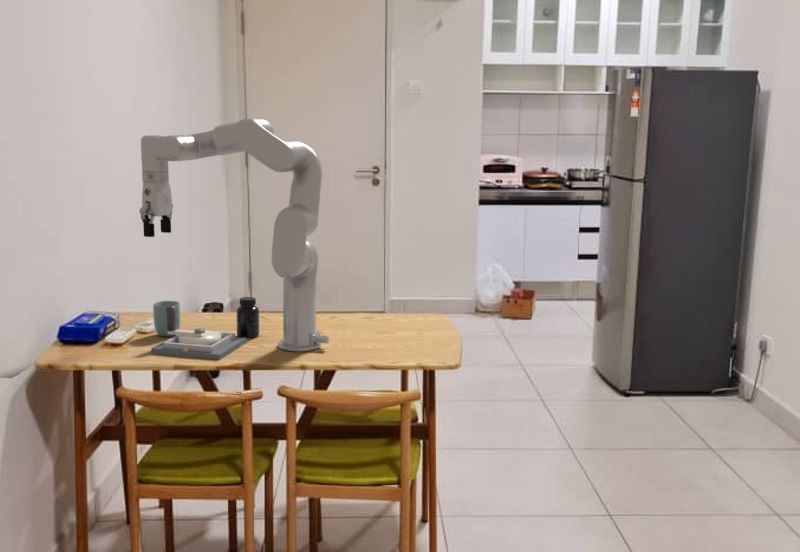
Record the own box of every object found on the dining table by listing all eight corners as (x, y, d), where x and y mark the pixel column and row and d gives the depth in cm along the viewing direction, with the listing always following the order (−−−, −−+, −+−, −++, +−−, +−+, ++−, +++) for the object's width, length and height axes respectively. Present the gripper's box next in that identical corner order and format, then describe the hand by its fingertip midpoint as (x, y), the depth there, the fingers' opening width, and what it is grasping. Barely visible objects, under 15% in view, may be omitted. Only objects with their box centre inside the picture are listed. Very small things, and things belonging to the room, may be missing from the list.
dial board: (246, 342, 234) (246, 333, 233) (219, 359, 217) (219, 349, 216) (182, 337, 238) (182, 327, 238) (151, 353, 221) (151, 343, 220)
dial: (228, 338, 232) (227, 305, 230) (209, 349, 220) (208, 315, 218) (178, 334, 235) (176, 302, 233) (157, 345, 224) (155, 311, 222)
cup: (184, 332, 244) (183, 301, 242) (175, 339, 236) (173, 307, 234) (160, 331, 245) (159, 300, 243) (150, 337, 237) (148, 305, 235)
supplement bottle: (232, 337, 240) (231, 299, 237) (246, 332, 246) (245, 295, 243) (250, 340, 237) (249, 301, 234) (263, 335, 242) (263, 297, 240)
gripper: (151, 179, 223) (154, 239, 226) (181, 176, 239) (183, 231, 242) (128, 178, 224) (130, 237, 227) (159, 175, 241) (161, 230, 244)
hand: (157, 234), depth 235 cm, fingers open, 9 cm apart
